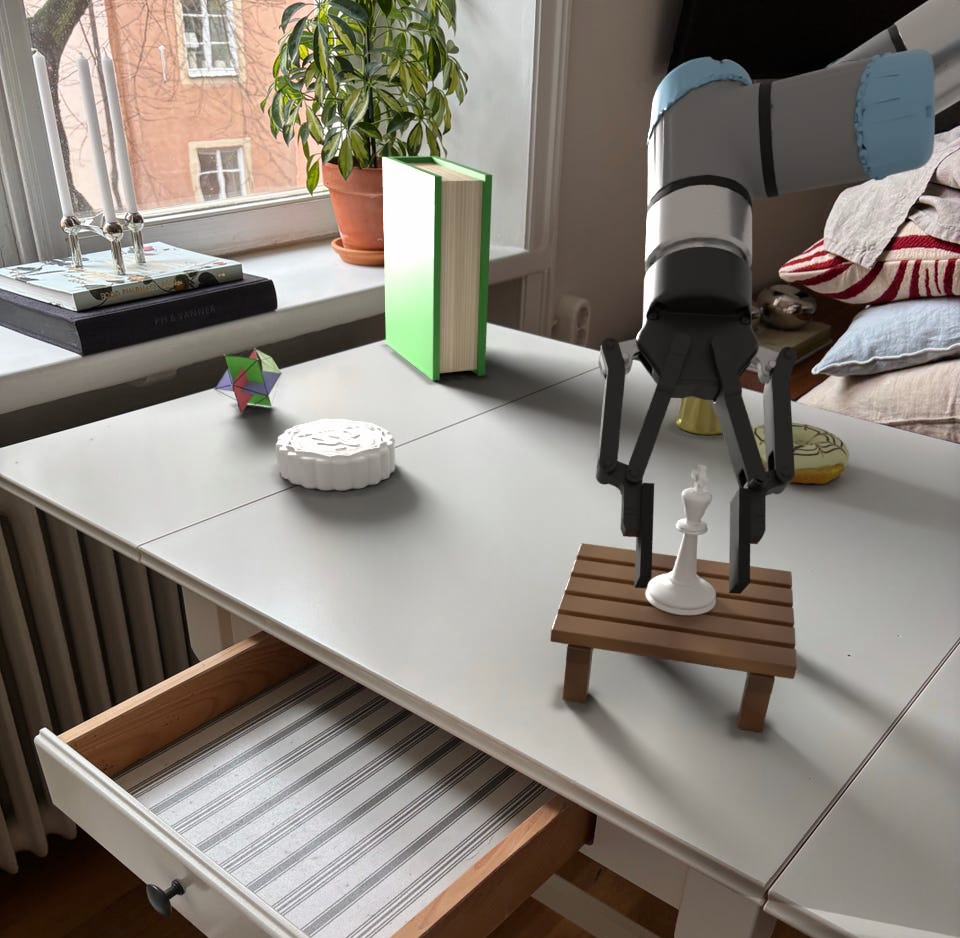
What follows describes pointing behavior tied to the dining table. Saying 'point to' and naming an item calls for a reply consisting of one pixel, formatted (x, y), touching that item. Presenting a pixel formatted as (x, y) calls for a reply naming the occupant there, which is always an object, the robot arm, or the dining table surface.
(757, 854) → the dining table surface
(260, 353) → the geometric puzzle
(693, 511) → the chess piece
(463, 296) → the hardback book
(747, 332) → the robot arm
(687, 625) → the bench
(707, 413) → the vase
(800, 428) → the decorated donut
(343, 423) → the mooncake
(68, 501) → the dining table surface
